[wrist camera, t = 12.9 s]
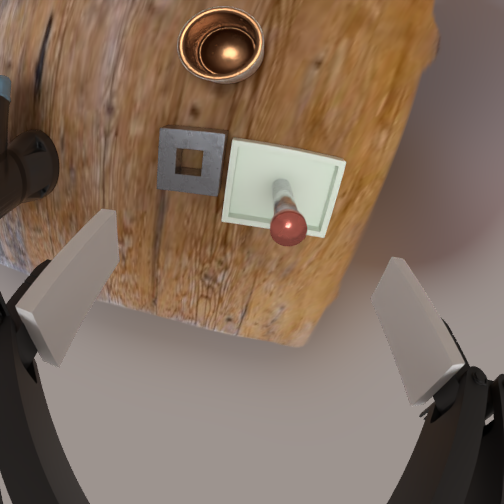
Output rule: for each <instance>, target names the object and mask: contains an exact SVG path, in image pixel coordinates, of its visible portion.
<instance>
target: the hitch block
mask: <svg viewBox="0 0 504 504" xmlns="http://www.w3.org/2000/svg"><path fill="white" fill-rule="evenodd" d="M227 137H228V130H220V129H211V128H202V127H191V126H179V125H166V126H164V127H162V128H160V136H159V151H158V172H157V189H162V190H171V191H179V192H187V193H195V194H203V195H210V196H218V194H219V191H220V189H221V182H222V174H223V166H224V159H225V152H226V144H227ZM183 148H184V149H194V150H203V151H204V153H203V162H202V169H196V168H187V167H181V165H182V153H183Z"/></svg>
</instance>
